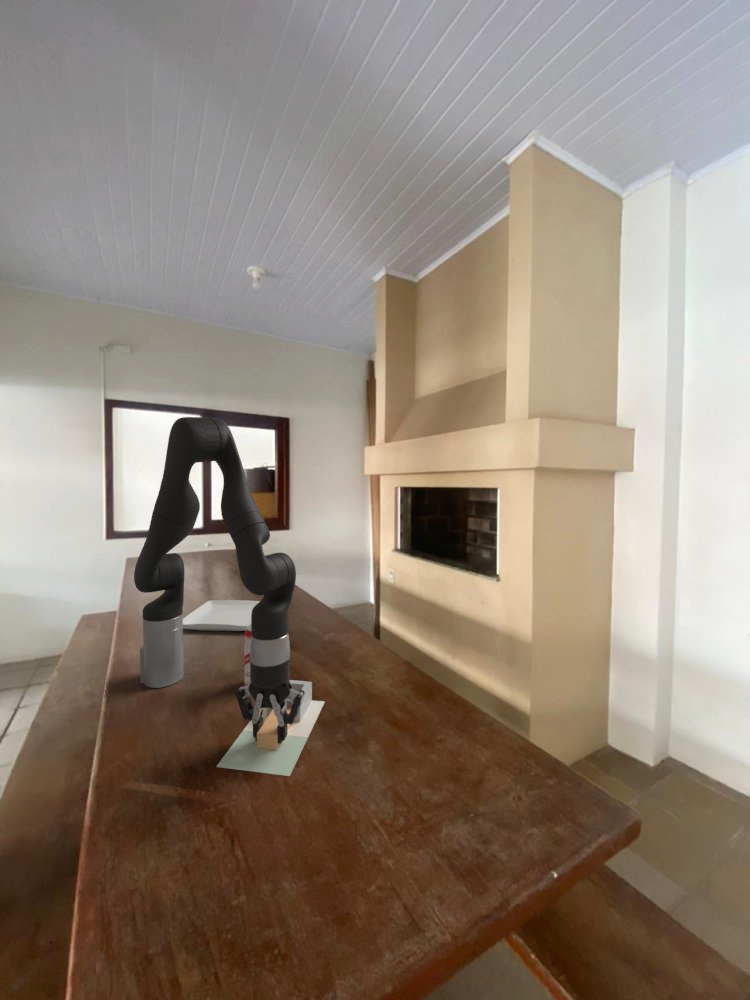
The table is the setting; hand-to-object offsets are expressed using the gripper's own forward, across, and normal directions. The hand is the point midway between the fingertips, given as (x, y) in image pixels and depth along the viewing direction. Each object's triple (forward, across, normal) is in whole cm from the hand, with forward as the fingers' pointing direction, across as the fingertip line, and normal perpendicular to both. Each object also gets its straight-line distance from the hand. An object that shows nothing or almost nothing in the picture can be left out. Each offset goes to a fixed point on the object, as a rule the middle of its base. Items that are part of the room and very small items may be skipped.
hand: (270, 739), depth 78 cm
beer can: (+2, -12, +20) cm, 24 cm away
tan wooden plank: (+1, 0, +4) cm, 4 cm away
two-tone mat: (+2, 0, +4) cm, 5 cm away
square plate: (+2, -43, +64) cm, 77 cm away
